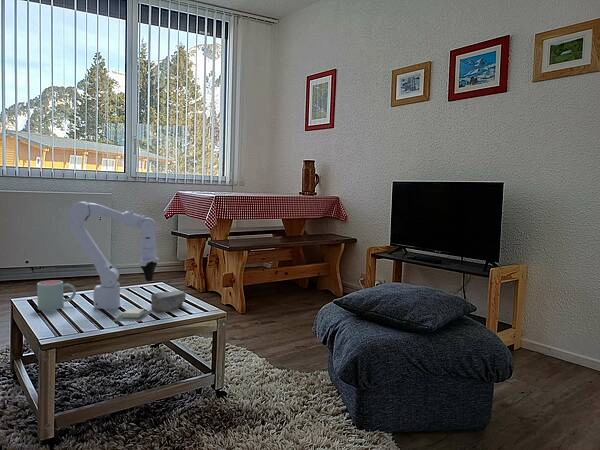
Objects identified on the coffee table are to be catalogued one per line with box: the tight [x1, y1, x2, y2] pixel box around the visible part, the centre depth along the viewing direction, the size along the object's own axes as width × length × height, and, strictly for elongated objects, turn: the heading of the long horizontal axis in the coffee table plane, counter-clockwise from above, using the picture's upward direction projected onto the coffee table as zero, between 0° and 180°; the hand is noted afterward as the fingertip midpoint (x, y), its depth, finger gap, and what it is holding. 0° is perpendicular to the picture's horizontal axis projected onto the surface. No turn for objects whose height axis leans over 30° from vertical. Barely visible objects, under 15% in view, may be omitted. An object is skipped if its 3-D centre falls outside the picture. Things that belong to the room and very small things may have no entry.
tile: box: [121, 308, 145, 318], centre depth 180 cm, size 6×2×6 cm
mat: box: [112, 310, 153, 323], centre depth 180 cm, size 10×14×1 cm
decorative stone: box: [150, 289, 186, 314], centre depth 191 cm, size 15×7×10 cm
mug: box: [36, 279, 77, 312], centre depth 192 cm, size 14×9×10 cm
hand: (149, 280), depth 196 cm, fingers closed
